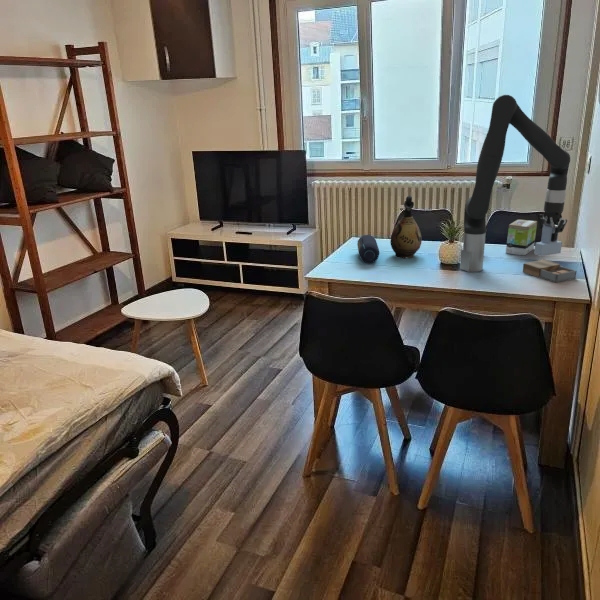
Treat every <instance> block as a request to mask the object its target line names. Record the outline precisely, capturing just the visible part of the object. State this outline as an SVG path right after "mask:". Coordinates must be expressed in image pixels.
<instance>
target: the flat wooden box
mask: <svg viewBox="0 0 600 600" xmlns="http://www.w3.org/2000/svg"><path fill="white" fill-rule="evenodd" d="M559 266H561V264H560V263H557V262H554V261H551V260H549V259H548V260H547V259H544V258H543V259H538V260H533V261H529V262H524V263H523V266H522V272H523V273H525V274H528V275H531V276H534V277H536V278H540V274H541V270H545V271H553V270H558V269H559Z"/></svg>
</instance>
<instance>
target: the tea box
mask: <svg viewBox="0 0 600 600" xmlns="http://www.w3.org/2000/svg"><path fill="white" fill-rule="evenodd" d="M537 227H538V221H537V220H528V219H527V220H526V219H516V220H515V221H513V222H511V223H510V224H509V225H508V230H507V231H508V232H507V238H506V239H507V240H506V246H505V253H506V254H509V255H510V254H511V255H518V256H526V255H527V254H529V253H530V252H531V251H533V250H535V243H536V242H535V241H536V236H537V235H536V234H537Z"/></svg>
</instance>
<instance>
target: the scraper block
mask: <svg viewBox="0 0 600 600" xmlns="http://www.w3.org/2000/svg"><path fill="white" fill-rule="evenodd" d="M541 230H542V229H541ZM555 230H556V228H555ZM551 236H552V228H551V225H549V226H543V230H542V231H541V236H540V237H541V239H540V241H538V242H535V243H534V249H533V250H534V251H533V255H536V256H539V257H545V256H551V255H556V254H561V252H562V247H563V245H562V244H563V242H562V241H560V240H558V239H559V234H558V235H557V240H556V241H555V242H551Z"/></svg>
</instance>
